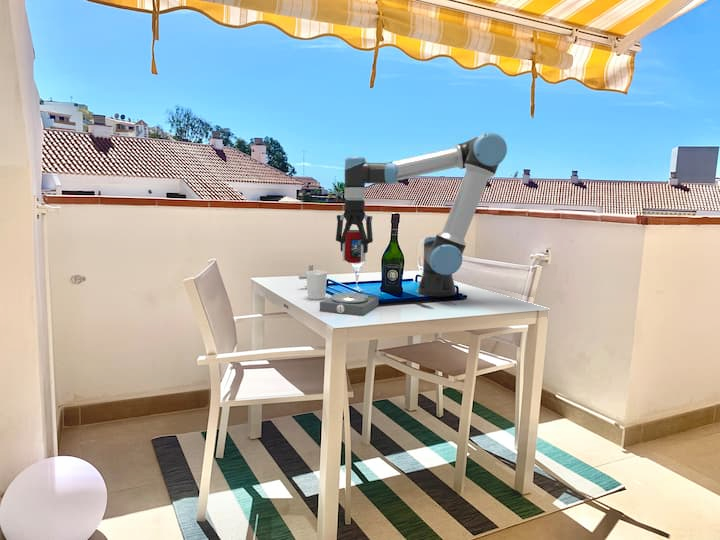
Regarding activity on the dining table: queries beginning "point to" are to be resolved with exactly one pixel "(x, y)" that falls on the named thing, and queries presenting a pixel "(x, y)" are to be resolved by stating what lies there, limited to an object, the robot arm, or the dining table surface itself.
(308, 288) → the white cup
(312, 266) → the pipe connector
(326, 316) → the dining table surface
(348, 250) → the beverage can
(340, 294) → the platter
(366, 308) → the scale
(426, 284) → the robot arm
